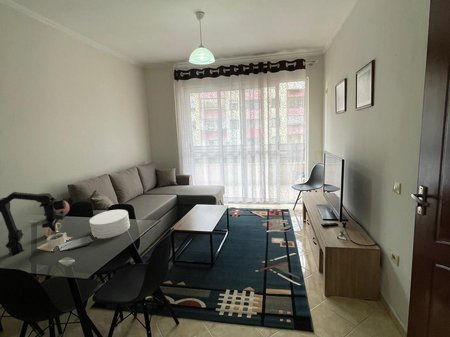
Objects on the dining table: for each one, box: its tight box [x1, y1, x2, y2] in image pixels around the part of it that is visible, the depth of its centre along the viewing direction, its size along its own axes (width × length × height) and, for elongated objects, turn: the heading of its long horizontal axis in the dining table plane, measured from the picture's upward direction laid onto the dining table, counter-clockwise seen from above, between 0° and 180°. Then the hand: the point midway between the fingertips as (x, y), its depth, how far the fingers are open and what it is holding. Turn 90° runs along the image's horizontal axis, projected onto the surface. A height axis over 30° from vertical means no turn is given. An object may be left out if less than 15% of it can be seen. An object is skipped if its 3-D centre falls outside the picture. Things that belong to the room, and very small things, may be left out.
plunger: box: [50, 229, 62, 240], centre depth 186 cm, size 8×8×6 cm
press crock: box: [36, 232, 72, 252], centre depth 187 cm, size 18×18×6 cm
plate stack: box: [89, 209, 131, 239], centre depth 203 cm, size 28×28×12 cm
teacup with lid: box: [43, 222, 62, 238], centre depth 204 cm, size 12×9×12 cm
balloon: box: [54, 200, 70, 216], centre depth 239 cm, size 15×20×15 cm
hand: (54, 231), depth 185 cm, fingers closed, pressing on plunger
